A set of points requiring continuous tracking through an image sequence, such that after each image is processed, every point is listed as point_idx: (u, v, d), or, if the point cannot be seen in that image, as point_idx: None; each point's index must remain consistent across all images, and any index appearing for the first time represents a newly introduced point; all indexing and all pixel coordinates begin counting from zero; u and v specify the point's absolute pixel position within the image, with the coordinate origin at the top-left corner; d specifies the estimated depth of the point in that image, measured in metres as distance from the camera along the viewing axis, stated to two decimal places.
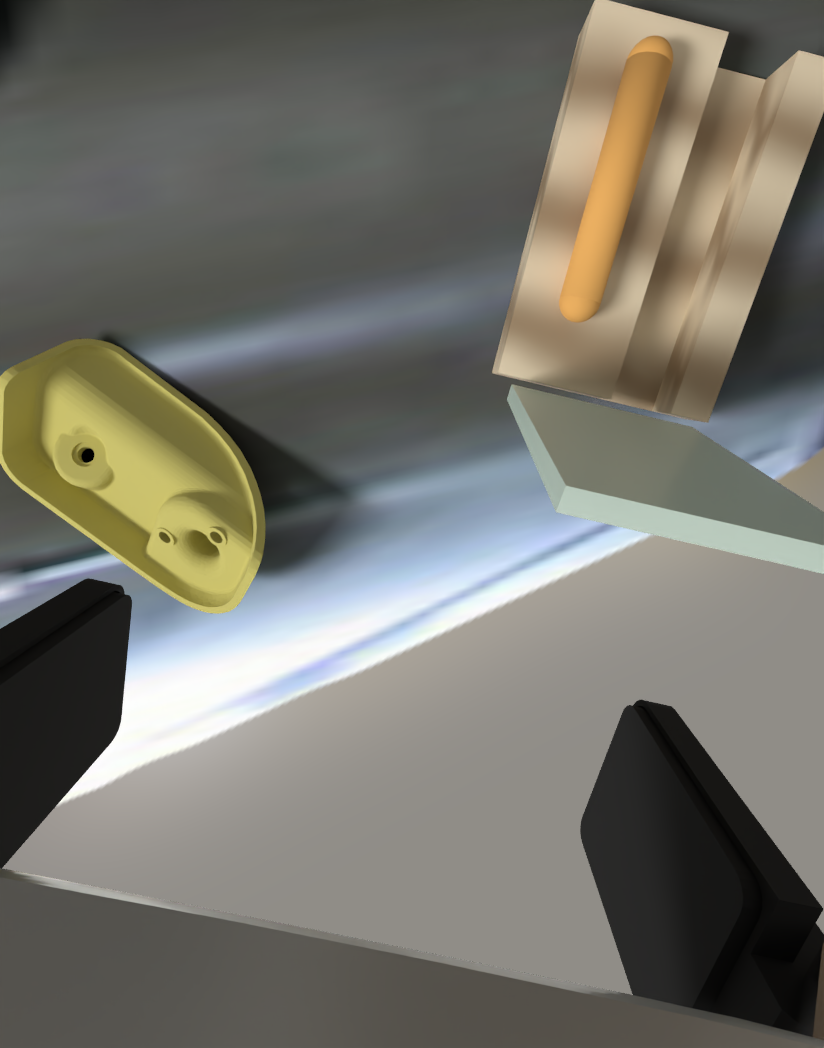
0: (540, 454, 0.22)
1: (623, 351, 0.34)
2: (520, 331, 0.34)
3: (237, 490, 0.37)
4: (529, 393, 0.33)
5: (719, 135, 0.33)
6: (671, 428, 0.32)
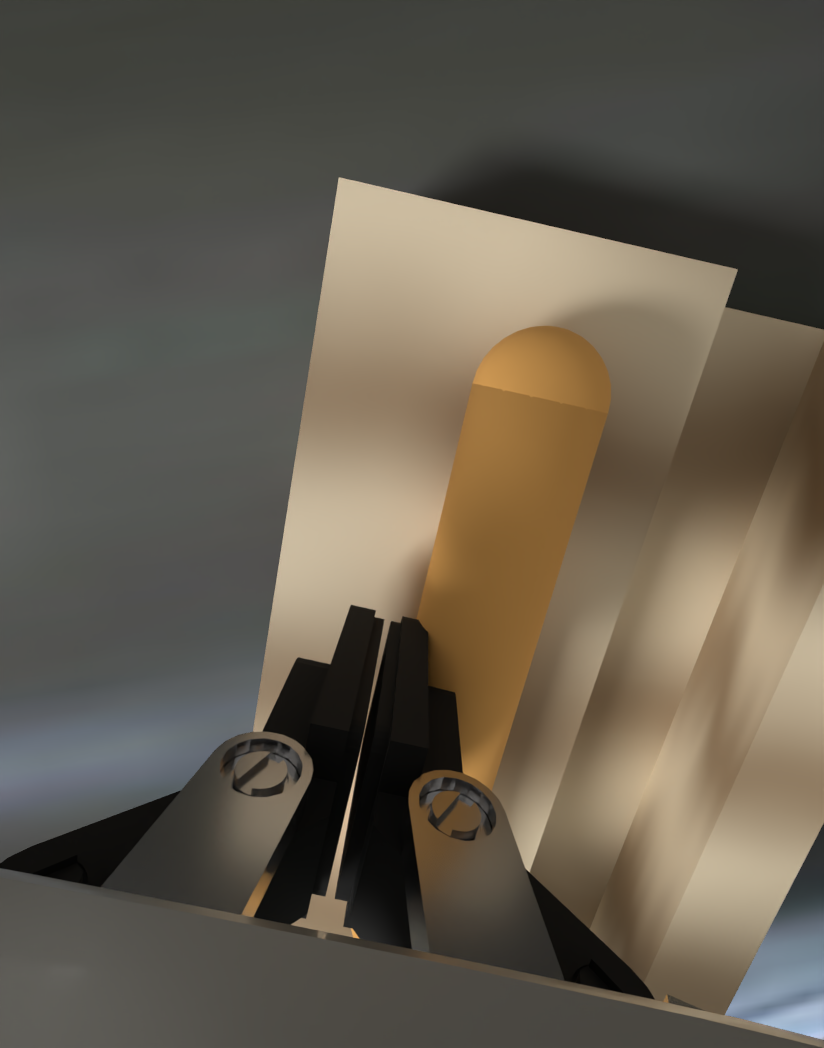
0: None
1: None
2: None
3: None
4: None
5: (713, 450, 0.14)
6: None
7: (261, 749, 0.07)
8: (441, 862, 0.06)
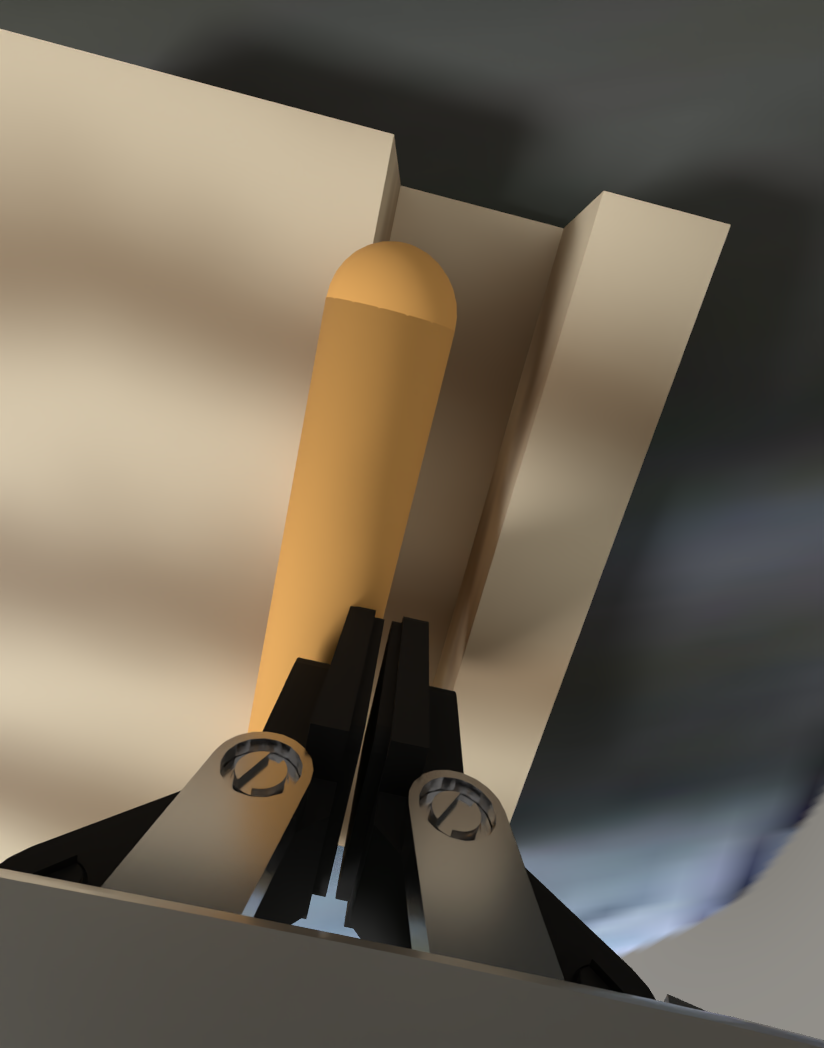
0: None
1: None
2: (7, 799, 0.14)
3: None
4: None
5: (462, 353, 0.14)
6: None
7: (261, 749, 0.07)
8: (441, 862, 0.06)
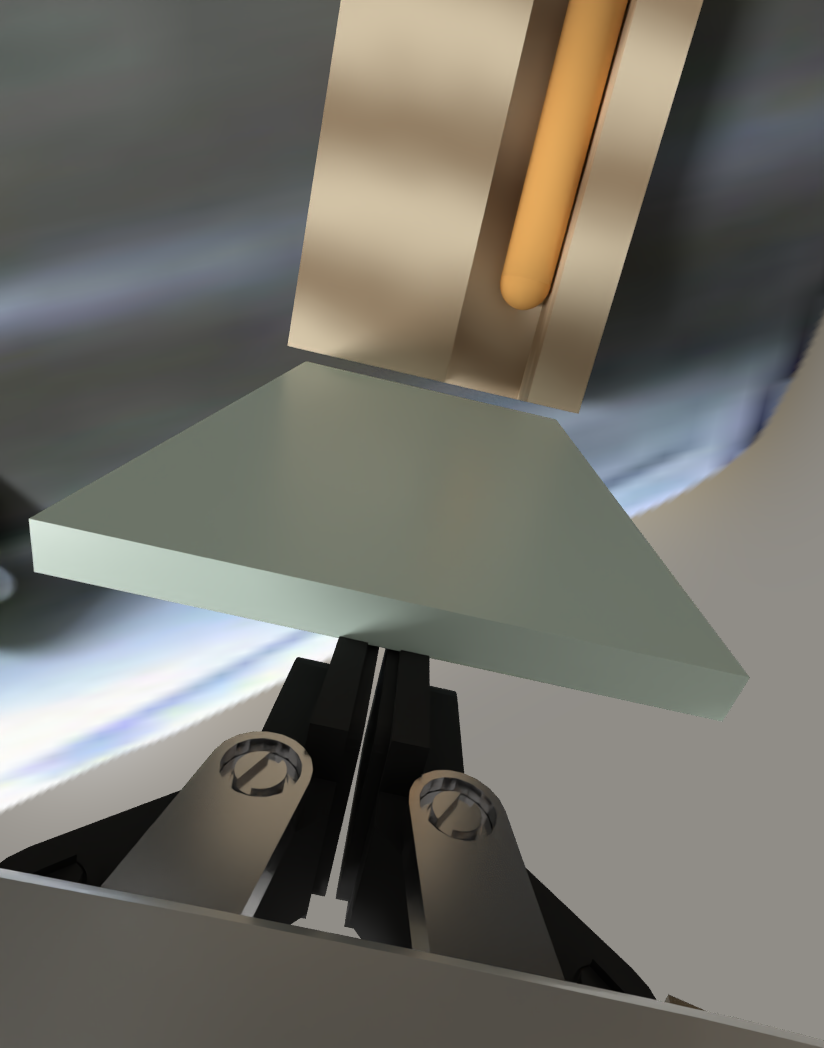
0: None
1: (455, 315, 0.24)
2: (312, 288, 0.24)
3: None
4: (316, 372, 0.23)
5: None
6: (514, 420, 0.23)
7: (261, 749, 0.07)
8: (442, 862, 0.06)
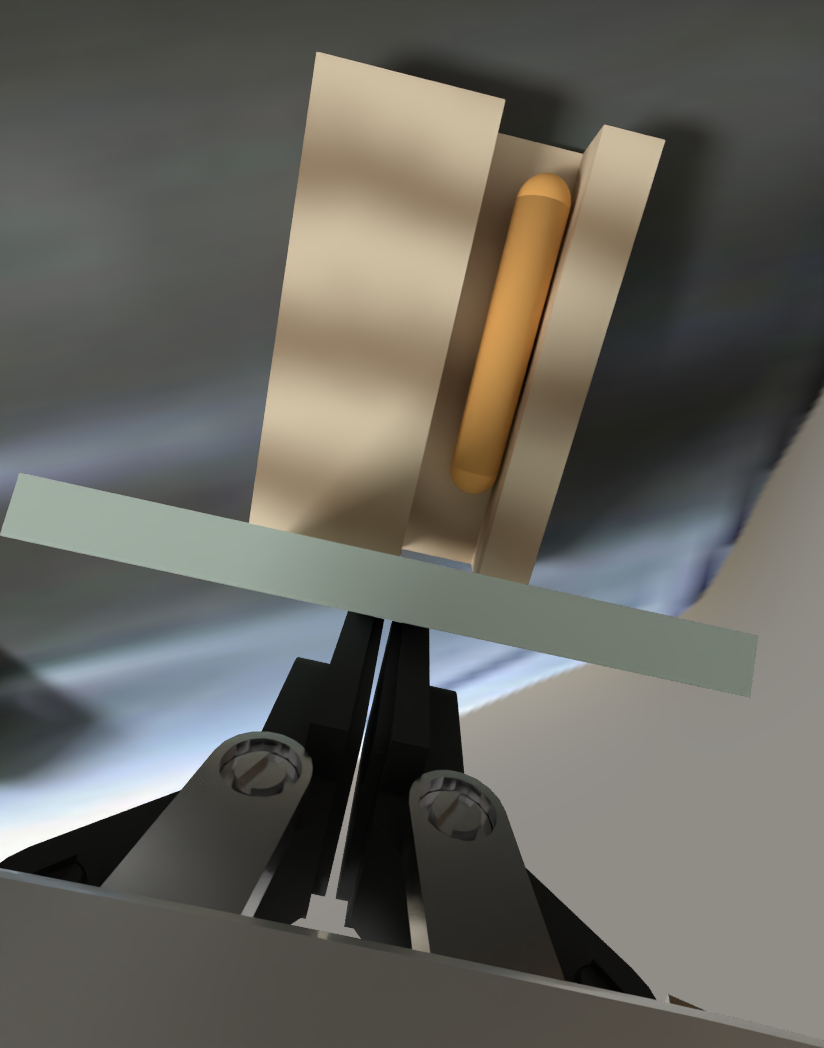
0: None
1: (406, 510, 0.26)
2: (269, 485, 0.25)
3: None
4: None
5: None
6: None
7: (261, 749, 0.07)
8: (441, 862, 0.06)
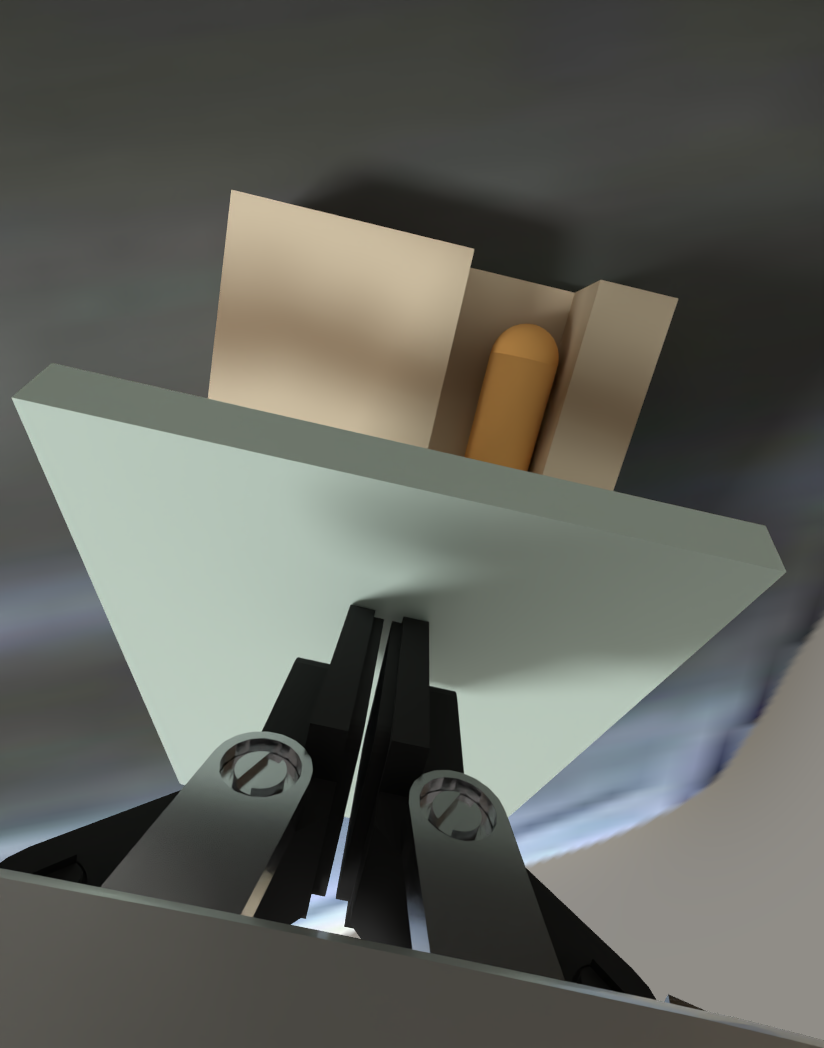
0: None
1: None
2: None
3: None
4: None
5: None
6: None
7: (261, 749, 0.07)
8: (441, 862, 0.06)
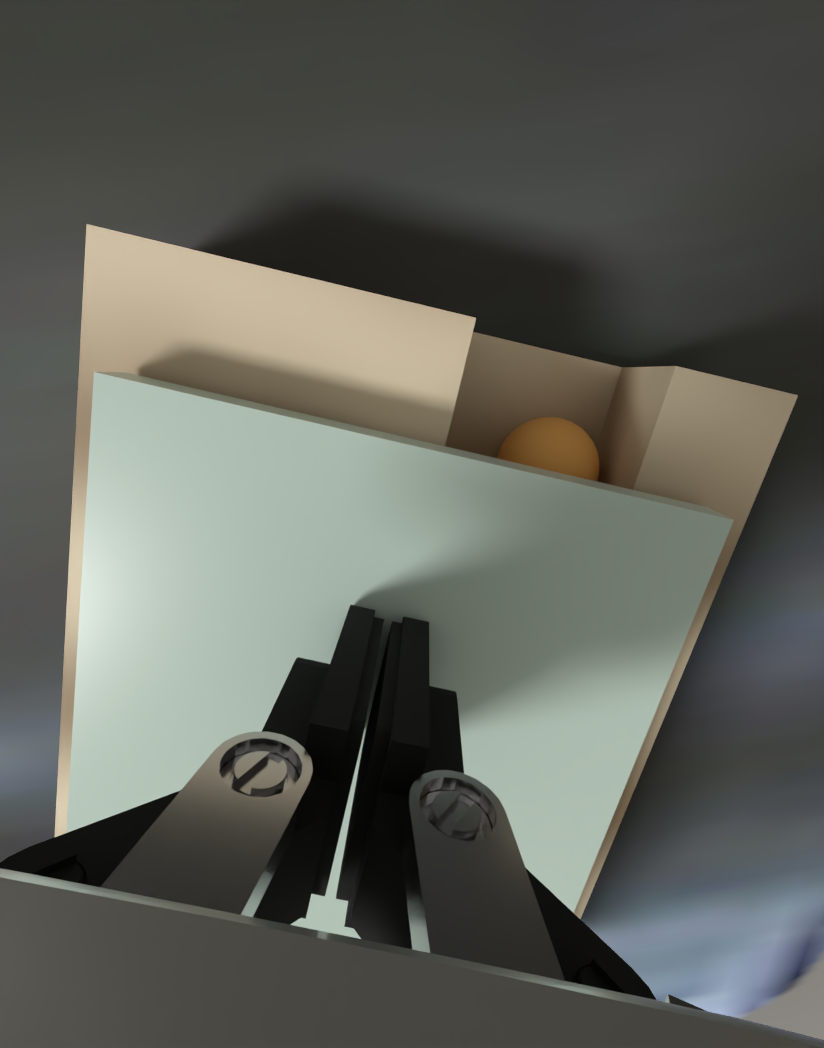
0: None
1: None
2: None
3: None
4: None
5: None
6: None
7: (261, 749, 0.07)
8: (441, 862, 0.06)
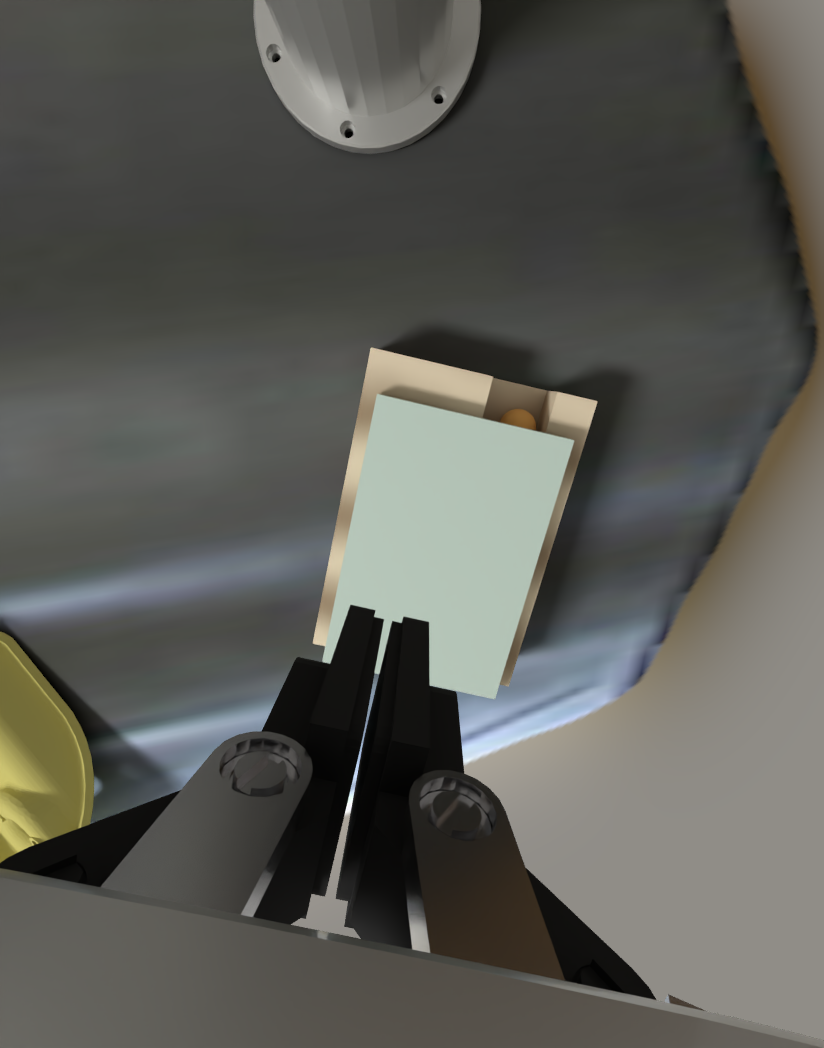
0: None
1: None
2: (329, 610, 0.36)
3: (73, 798, 0.41)
4: None
5: None
6: None
7: (261, 749, 0.07)
8: (441, 862, 0.06)
